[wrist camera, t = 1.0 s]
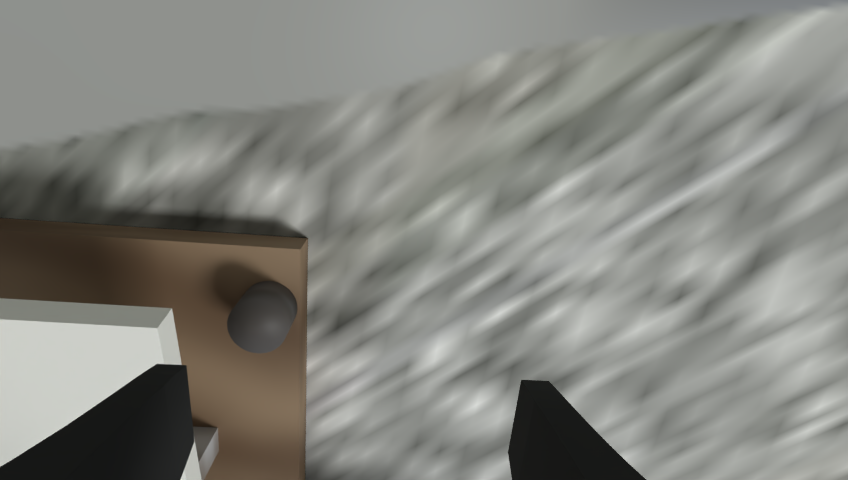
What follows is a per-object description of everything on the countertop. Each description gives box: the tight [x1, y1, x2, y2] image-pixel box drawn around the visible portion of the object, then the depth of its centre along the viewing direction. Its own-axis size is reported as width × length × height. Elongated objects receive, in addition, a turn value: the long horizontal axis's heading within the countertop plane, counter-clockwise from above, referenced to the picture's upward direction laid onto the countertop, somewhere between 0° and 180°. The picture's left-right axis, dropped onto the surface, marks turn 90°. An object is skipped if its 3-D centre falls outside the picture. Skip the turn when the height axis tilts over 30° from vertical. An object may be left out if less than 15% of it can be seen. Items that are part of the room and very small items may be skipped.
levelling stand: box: [0, 218, 308, 480], centre depth 22 cm, size 18×16×4 cm
